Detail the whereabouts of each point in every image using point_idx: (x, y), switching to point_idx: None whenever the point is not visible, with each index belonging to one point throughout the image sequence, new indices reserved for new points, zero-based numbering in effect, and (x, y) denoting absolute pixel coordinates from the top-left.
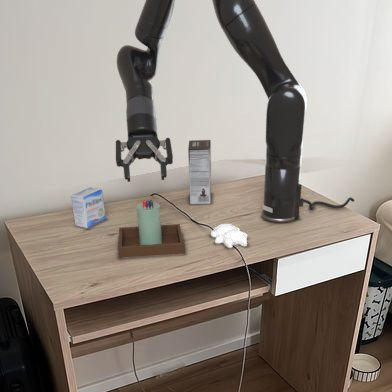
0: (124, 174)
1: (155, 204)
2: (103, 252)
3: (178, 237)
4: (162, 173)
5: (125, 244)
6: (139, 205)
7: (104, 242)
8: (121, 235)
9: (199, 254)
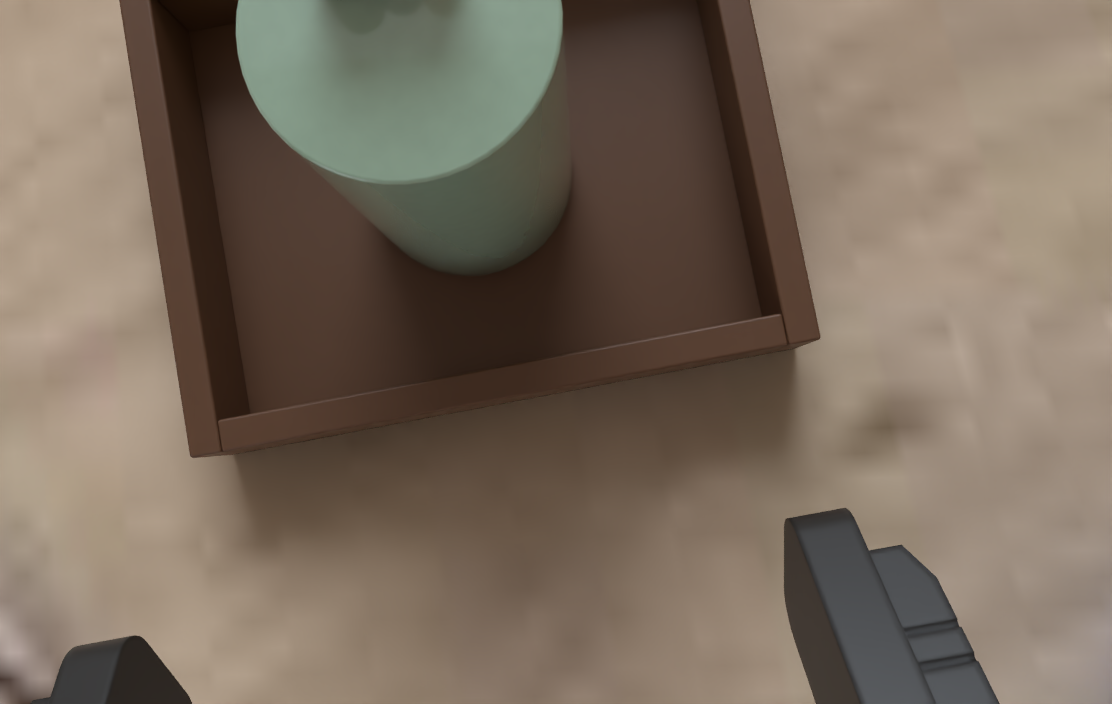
0: (932, 585)
1: (302, 83)
2: (877, 26)
3: (212, 255)
4: (84, 680)
5: (709, 173)
6: (526, 37)
7: (924, 240)
8: (751, 135)
9: (35, 26)
